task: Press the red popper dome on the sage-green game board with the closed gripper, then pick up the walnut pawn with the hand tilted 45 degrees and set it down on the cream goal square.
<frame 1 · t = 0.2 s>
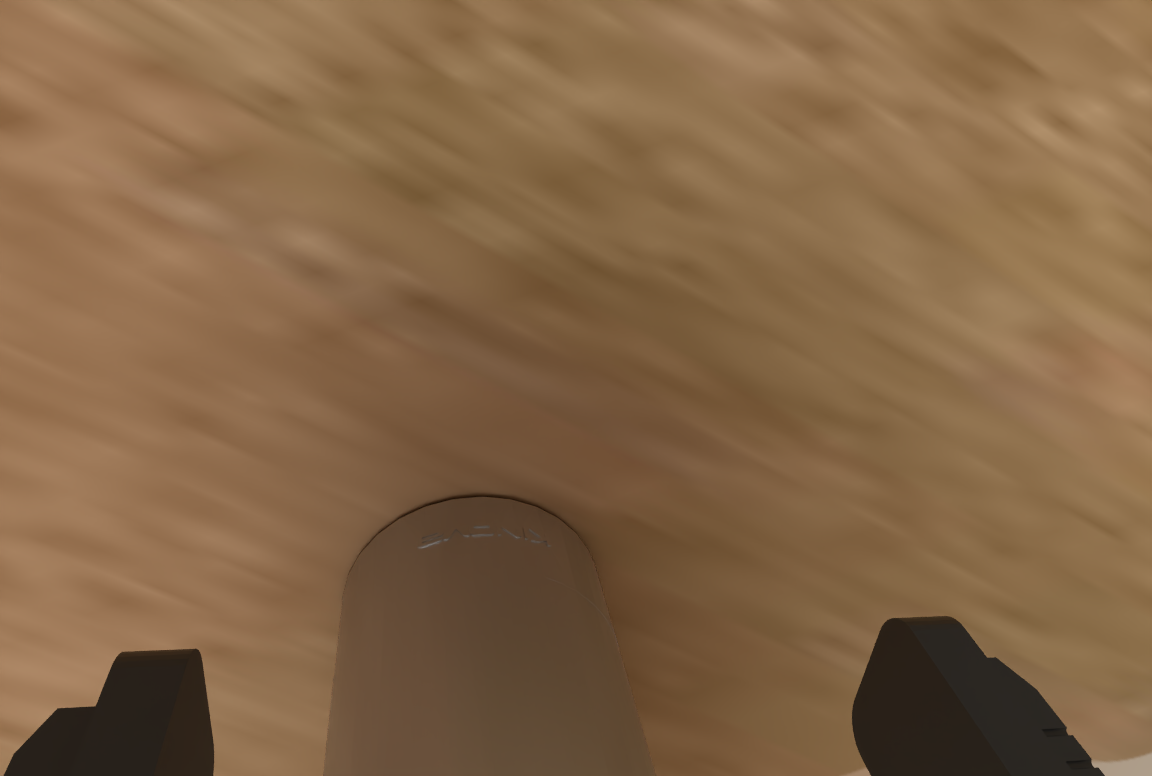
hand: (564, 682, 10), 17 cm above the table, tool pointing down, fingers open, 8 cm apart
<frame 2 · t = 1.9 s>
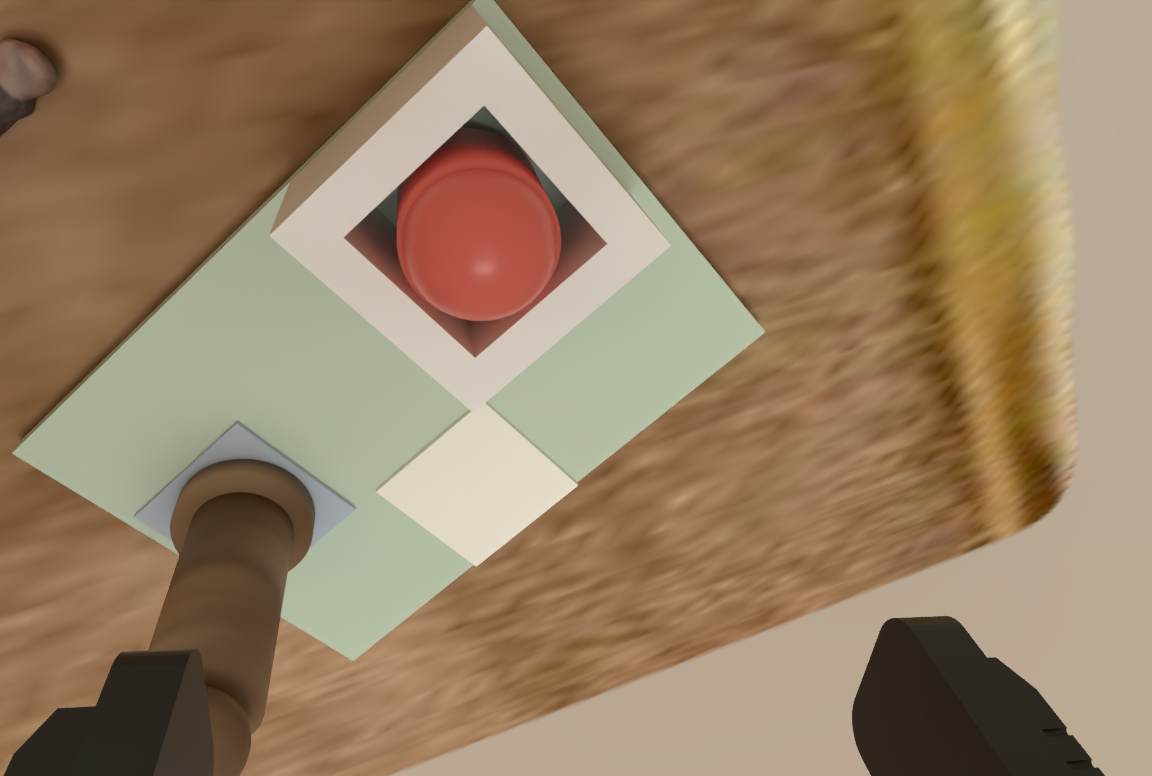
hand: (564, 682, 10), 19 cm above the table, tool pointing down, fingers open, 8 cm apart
popper button: (477, 232, 22), point 5 cm above the table, slide at 0.0 cm
game board: (406, 378, 29), on the table
pawn: (247, 513, 29), point 1 cm above the table, touching game board
popper housing: (465, 180, 26), resting on game board
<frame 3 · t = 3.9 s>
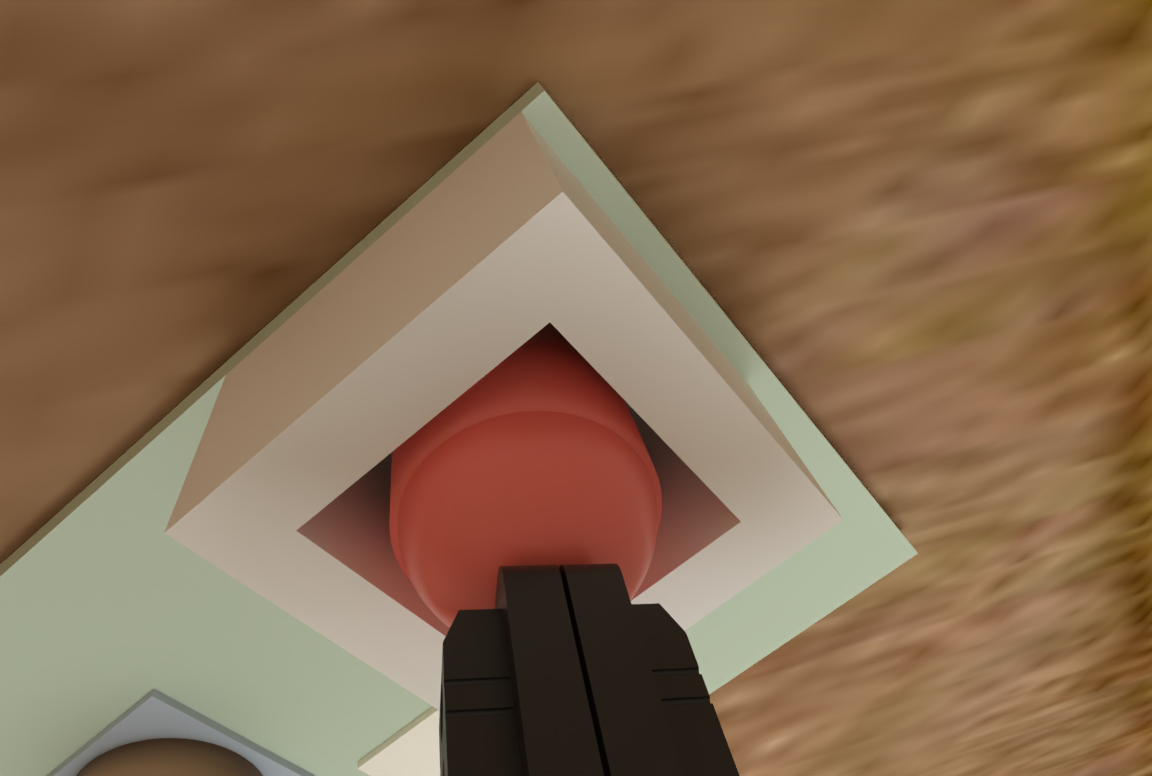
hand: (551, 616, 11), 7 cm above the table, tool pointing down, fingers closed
popper button: (522, 486, 13), point 4 cm above the table, slide at 0.4 cm, touching gripper
game board: (404, 616, 20), on the table
popper housing: (498, 359, 17), resting on game board
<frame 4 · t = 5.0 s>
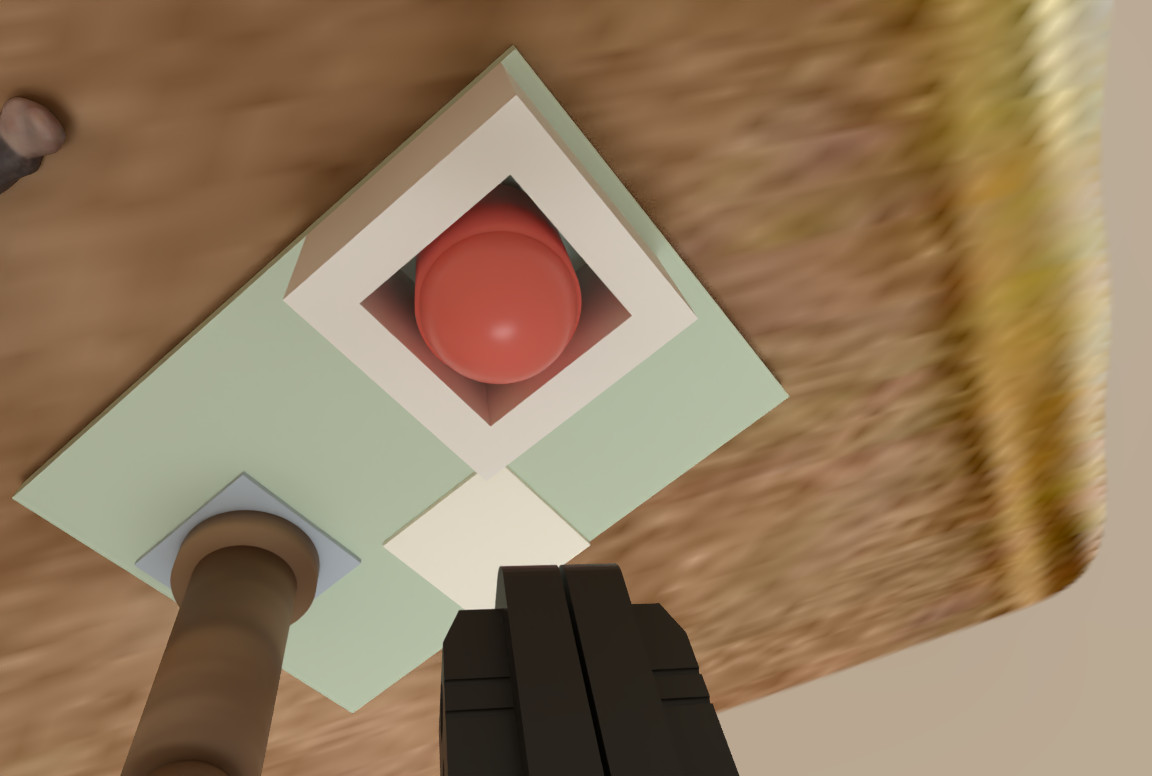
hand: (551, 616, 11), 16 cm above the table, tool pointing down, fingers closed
popper button: (496, 292, 21), point 4 cm above the table, slide at 0.5 cm
game board: (418, 431, 28), on the table
pawn: (250, 564, 28), point 1 cm above the table, touching game board
popper housing: (486, 236, 25), resting on game board
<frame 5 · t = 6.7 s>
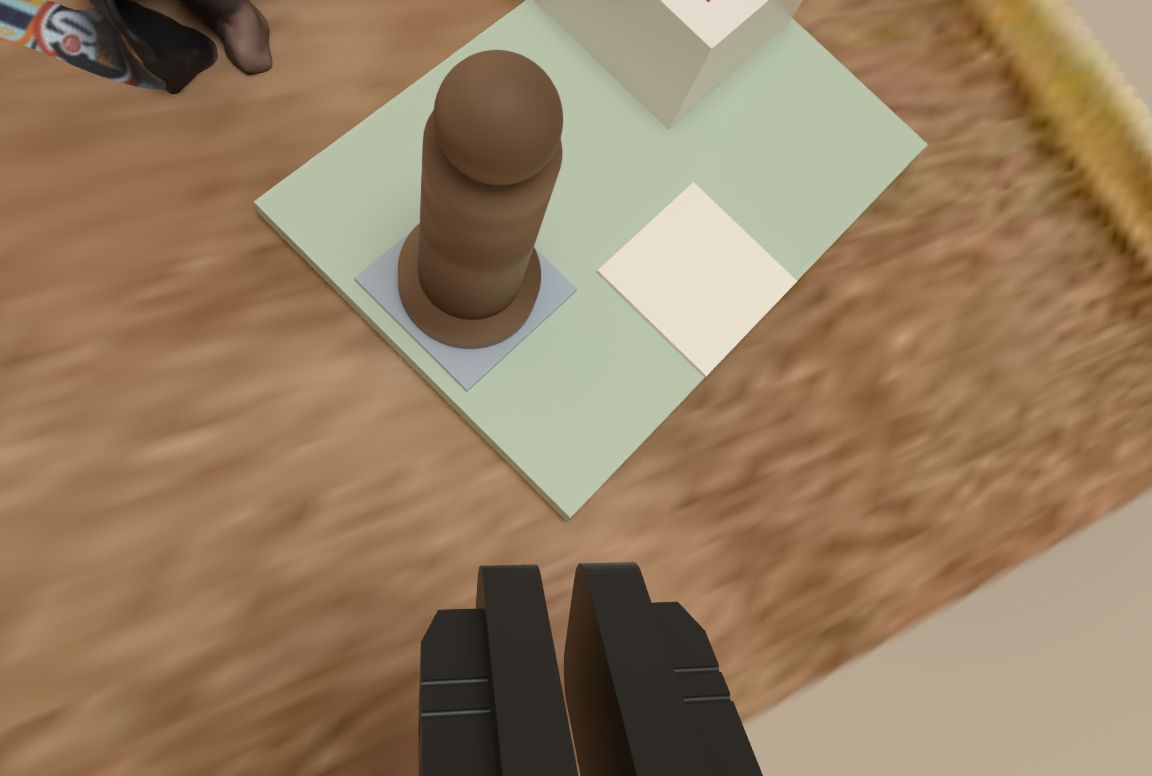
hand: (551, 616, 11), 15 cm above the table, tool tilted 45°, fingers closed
game board: (617, 181, 31), on the table
pawn: (468, 283, 27), point 1 cm above the table, touching game board
popper housing: (655, 26, 33), resting on game board
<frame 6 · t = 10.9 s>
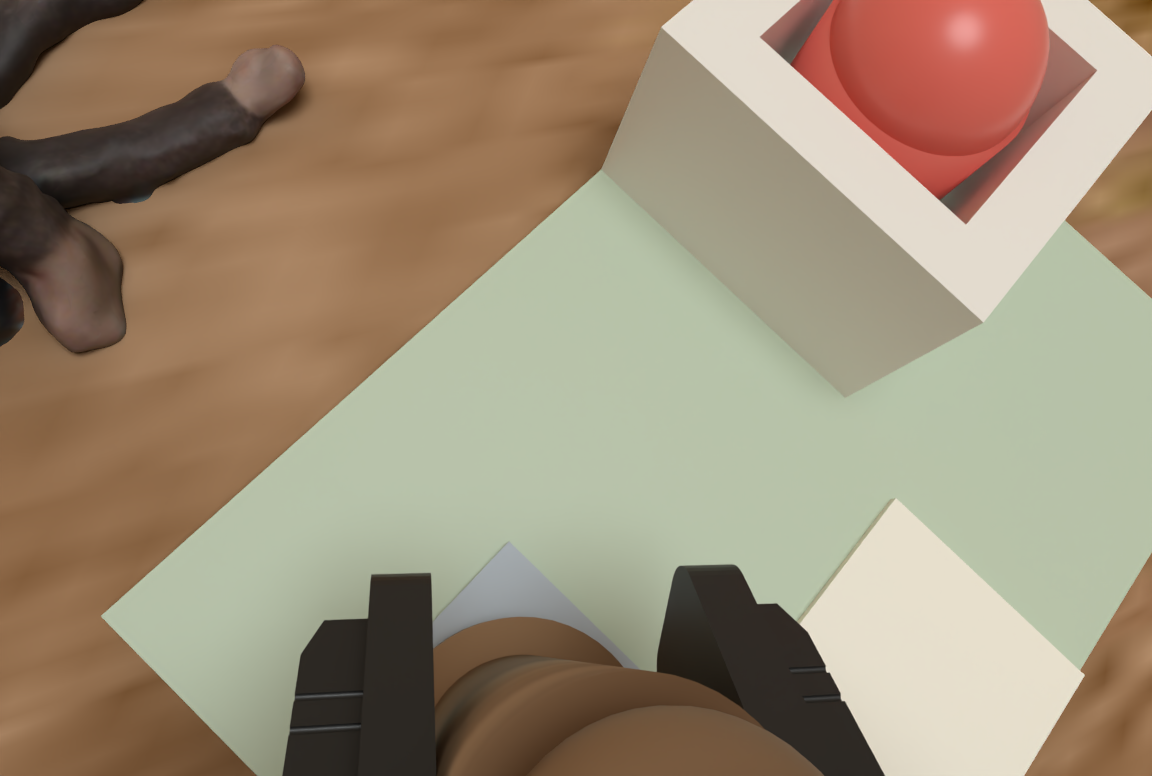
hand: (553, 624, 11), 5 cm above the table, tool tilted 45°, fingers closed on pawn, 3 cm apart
popper button: (901, 91, 16), point 4 cm above the table, slide at 0.5 cm
game board: (758, 489, 18), on the table
pawn: (512, 752, 15), point 1 cm above the table, touching game board, gripper
popper housing: (801, 200, 20), resting on game board
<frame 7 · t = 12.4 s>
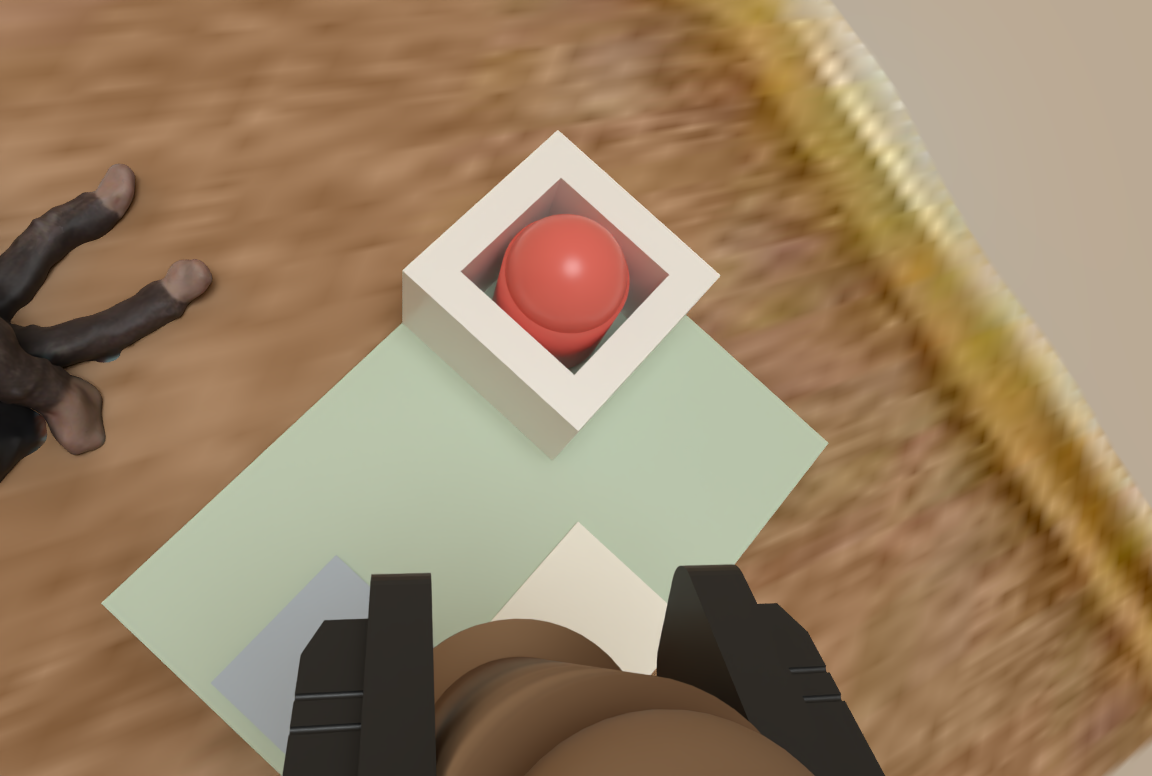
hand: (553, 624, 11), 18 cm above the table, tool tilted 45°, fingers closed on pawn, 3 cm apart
popper button: (561, 286, 27), point 4 cm above the table, slide at 0.5 cm
game board: (500, 517, 29), on the table
pawn: (510, 754, 15), point 14 cm above the table, touching gripper
popper housing: (541, 330, 31), resting on game board
when the fingers open (7 cm above the table, at t = 15.1 s): pawn drops 1 cm, resting on game board.
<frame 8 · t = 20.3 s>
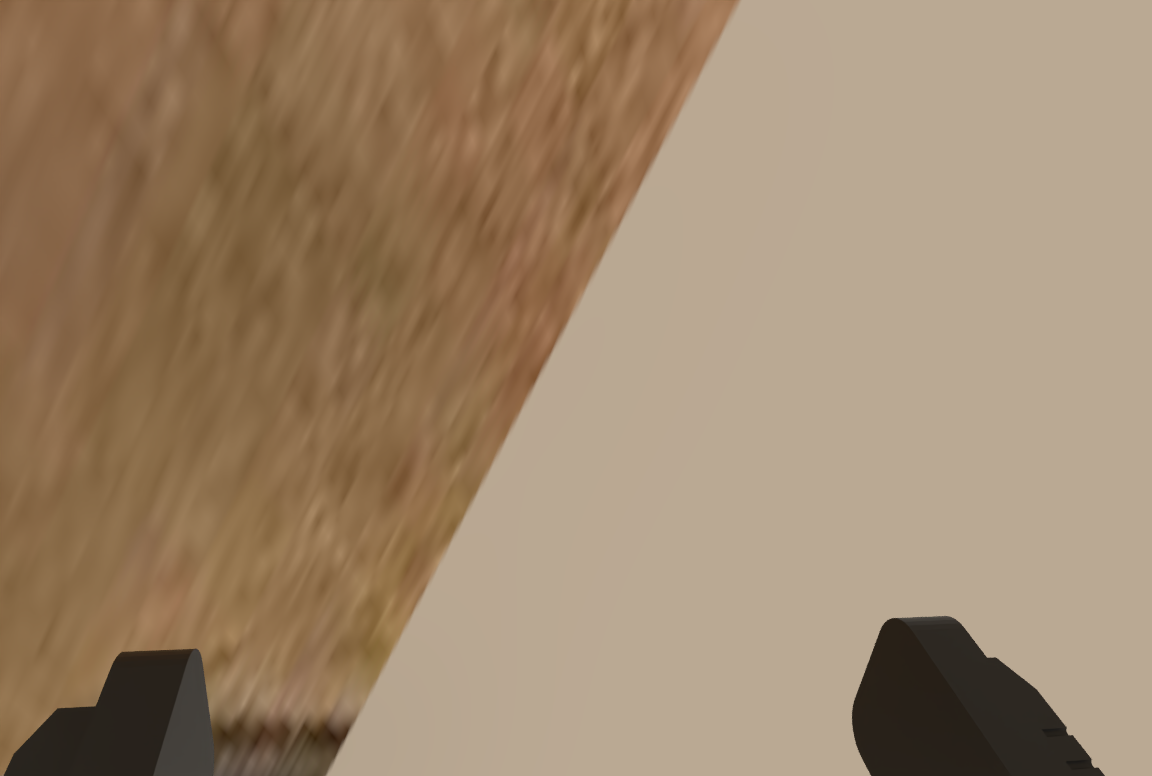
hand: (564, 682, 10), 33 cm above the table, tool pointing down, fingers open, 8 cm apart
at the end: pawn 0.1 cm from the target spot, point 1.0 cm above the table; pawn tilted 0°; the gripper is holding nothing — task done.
